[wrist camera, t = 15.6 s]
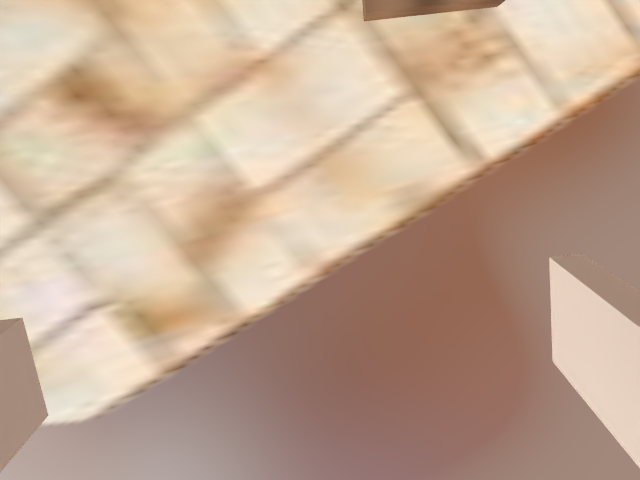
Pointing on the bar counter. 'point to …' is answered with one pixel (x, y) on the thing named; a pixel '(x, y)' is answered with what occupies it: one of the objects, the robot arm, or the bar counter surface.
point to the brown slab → (419, 7)
